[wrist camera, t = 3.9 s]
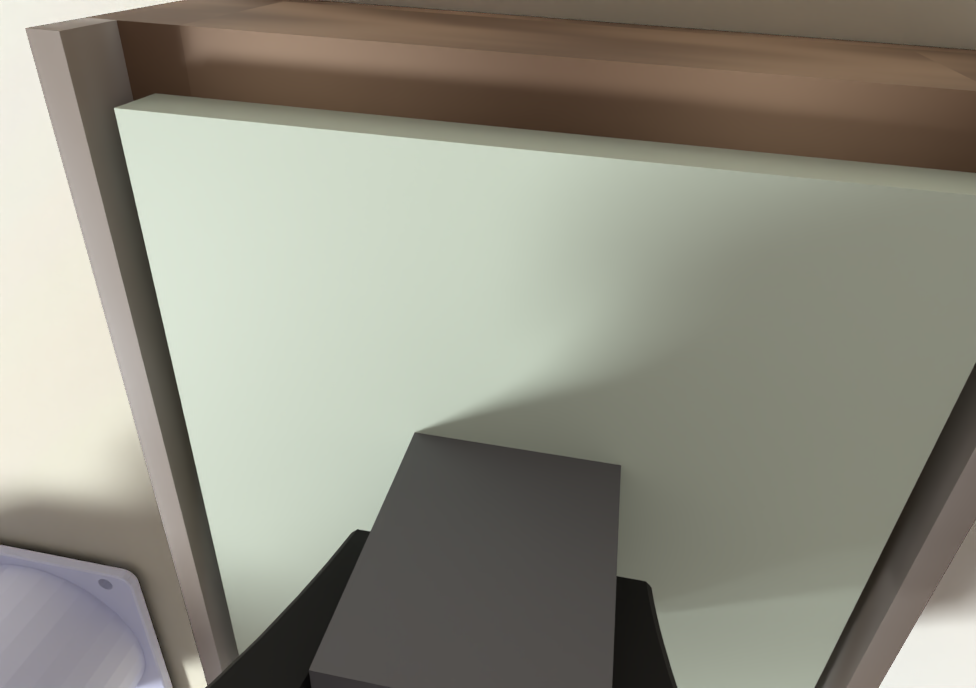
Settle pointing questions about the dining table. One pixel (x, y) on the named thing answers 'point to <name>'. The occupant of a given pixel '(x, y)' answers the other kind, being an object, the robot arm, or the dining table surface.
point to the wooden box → (513, 104)
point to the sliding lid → (548, 382)
